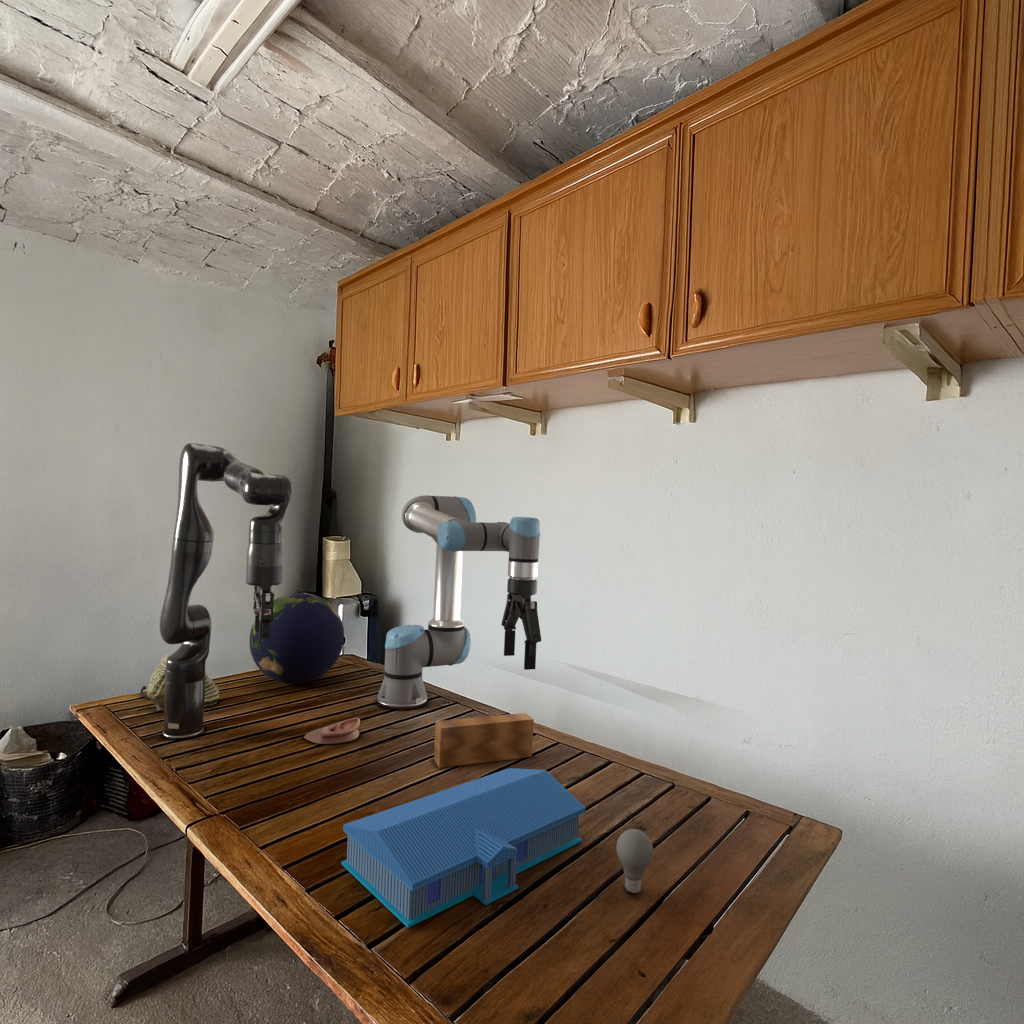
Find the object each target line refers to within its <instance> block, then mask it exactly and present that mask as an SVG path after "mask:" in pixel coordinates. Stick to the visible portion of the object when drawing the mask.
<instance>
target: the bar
mask: <svg viewBox="0 0 1024 1024" xmlns="http://www.w3.org/2000/svg"><path fill="white" fill-rule="evenodd" d="M534 720H535V719H534V718H533V717H531V715H529V714H528V713H527V712H521V713H520V712H519V713H508V714H497V715H488V716H487V715H486V716H477V717H466V718H453V719H444V720H435V724H434V725H435V726H434V745H433V746H434V749H433V760H434V762H435V764H436V766H437V767H438V769H440V768H441V769H443V768H450V767H451V768H452V767H458V766H460V767H461V766H467V765H475V764H476V765H477V764H484V763H493V762H500V761H508V760H509V761H510V760H517V759H525V758H532V757H533V745H534V744H533V743H534V723H535V722H534Z"/></svg>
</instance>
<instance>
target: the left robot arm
mask: <svg viewBox="0 0 1024 1024" xmlns="http://www.w3.org/2000/svg"><path fill="white" fill-rule="evenodd" d="M199 481H201V482H212V483H215V482H223V483H224V484H225V486H226V488H228V489H230V490H231V491H233V492H234V493H237V494H238V495H240V496H241V498H242V500H243V501H244V502H245V503H247V504H249V505H252V506H269V508H268V510H267V511H266V512H265V514H262V515H256V516H253V517H252V518H250V520H249V528H248V545H247V551H246V571H245V572H246V574H245V575H246V576H245V583H246V584H247V585H249V586H253V593H252V598H253V602H252V606H253V607H252V609H253V614H254V621H255V631H256V632H259V638H260V639H262V640H263V639H270V635H271V622H272V620H273V619H274V616H273V612H274V600H275V592H273V591H272V587H273V586H279V585H281V584H282V583H283V569H284V568H283V565H284V563H283V562H284V549H283V531H284V530H283V529H284V523H285V520H286V516H287V513H288V509H289V507H290V504H291V500H292V498H293V493H294V492H293V490H294V489H293V485H292V482H291V480H290V478H288V477H287V476H286V475H284V474H273V473H271V474H270V473H264V472H263V471H262V470H260V469H259V468H257V467H255V466H252V465H251V464H250V465H249V464H247V463H244V462H242V461H240V460H239V459H238V458H237V457H236V456H234V455H233V454H232V453H231V452H229V451H228V450H227V449H226V448H224V447H221V446H217V445H211V444H204V443H203V444H202V443H195V442H188V443H186V444H185V445H184V446H183V448H182V450H181V451H180V456H179V465H178V488H177V489H178V491H177V508H176V517H175V523H174V530H173V537H172V545H171V555H170V556H171V557H170V566H169V573H168V579H167V585H166V590H165V595H164V600H163V603H162V608H161V613H160V617H159V634H160V637H161V639H162V641H164V643H166V644H168V645H179V644H180V646H179V647H178V648H177V650H175V651H174V652H173V653H172V654H171V653H170V654H169V655H170V656H169V657H168V658H167V660H166V674H165V705H164V710H163V731H162V737H164V738H166V739H169V740H185V739H190V738H191V739H192V738H194V737H197V736H199V735H202V734H203V732H204V730H205V729H204V722H205V721H204V718H205V706H204V693H205V672H206V664H207V663H206V662H207V659H208V657H209V653H210V647H211V636H212V635H211V634H212V617H211V614H210V612H209V610H208V609H207V607H206V606H205V605H202V604H190V600H191V595H192V591H193V589H194V587H195V585H196V584H197V582H198V581H199V579H200V578H201V576H202V575H203V573H204V572H205V570H206V568H207V567H208V565H209V563H210V561H211V559H212V556H213V555H212V553H213V547H214V537H215V532H214V529H213V526H212V524H211V522H210V520H209V518H208V516H207V515H206V513H205V511H204V508H203V507H202V505H201V502H200V499H199V493H198V482H199ZM189 604H190V605H189ZM266 613H268V614H269V615H264V614H266ZM146 690H147V686H146V685H143V686H142V687H141V689H140V693H139V694H140V696H141V697H143V698H147V699H150V698H149V697H148V695H147V694H145V693H144V691H146Z"/></svg>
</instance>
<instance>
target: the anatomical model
mask: <svg viewBox="0 0 1024 1024" xmlns="http://www.w3.org/2000/svg"><path fill="white" fill-rule="evenodd" d="M360 724H361V719H360V718H359V717H352V718H349V719H345V720H342V721H338V722H336V723H335V722H334V723H332V724H329V725H326V726H323V727H320V728H316V729H313V730H311V731H309V732H307V733H306V734H305V735H304V736H303V738H304V739H305V740H307V741H308V742H311V743H314V744H319V745H331V744H332V745H333V744H341V743H342V744H343V743H346V742H352V741H354V740H356V739H357V738H359V736H360V730H359V729H358V728H359V727H360Z"/></svg>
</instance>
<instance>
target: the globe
mask: <svg viewBox="0 0 1024 1024" xmlns="http://www.w3.org/2000/svg"><path fill="white" fill-rule="evenodd" d="M264 615H269V614H268V613H266V614H264ZM273 616H274V619H273V620H272V622H271V635H270V639H263V640H262V639H260V638H259V632H256V631H255V620H254V621H253V623H252V626H251V628H250V633H249V642H248V643H249V651H250V655H251V658H252V660H253V662H254V663H255V665H256V667H257V668H258V669H259V670H260V672H261V673H263V674H264V675H265V676H266V677H267V678H268V679H271V680H273V681H275V682H278V683H280V684H284V685H290V686H291V685H304V684H307V683H311V682H313V681H316V680H317V679H319V678H321V677H322V676H324V675H325V674H326V673H328V672H329V671H330V670H331V669H332V668H333V667H334V665H336V662H337V661H338V660H339V657H340V656H341V653H342V650H343V647H344V642H345V629H344V625H343V621H342V618H341V616H340V614H339V613H338V612H337V610H336V609H335V607H334V606H333V605H332V604H331V603H329V602H328V601H327V600H325V599H323V598H322V597H320V596H318V595H315V594H311V593H308V592H307V593H306V592H293V593H288V594H284V595H281V596H279V597H276V598H274V612H273Z"/></svg>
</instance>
